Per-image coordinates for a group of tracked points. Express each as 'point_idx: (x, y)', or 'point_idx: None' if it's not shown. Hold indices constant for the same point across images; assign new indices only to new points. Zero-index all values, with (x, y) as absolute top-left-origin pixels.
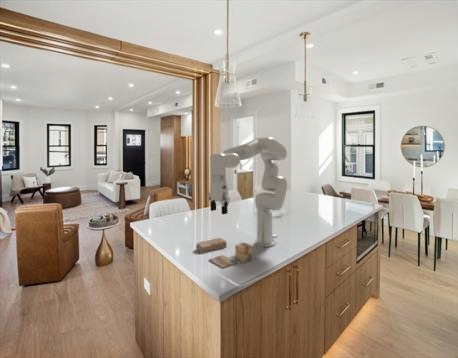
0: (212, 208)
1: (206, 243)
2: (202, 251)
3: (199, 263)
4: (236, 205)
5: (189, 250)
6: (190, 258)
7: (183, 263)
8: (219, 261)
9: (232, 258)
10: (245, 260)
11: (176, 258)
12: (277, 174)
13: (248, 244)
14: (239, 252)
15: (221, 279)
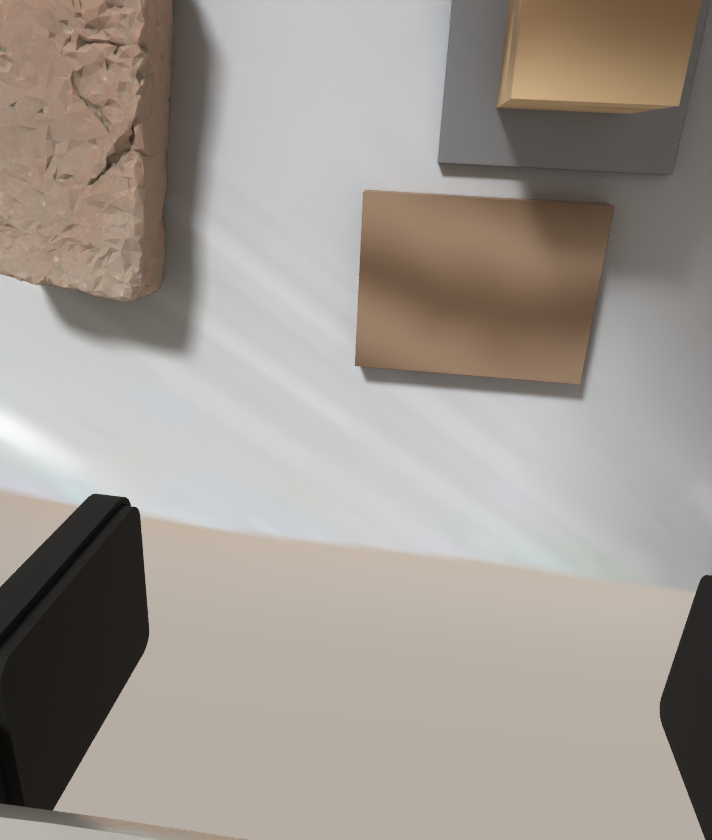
0: (120, 660)
1: (62, 198)
2: (152, 290)
3: (331, 435)
4: None
5: (20, 329)
6: (194, 428)
7: (246, 517)
8: (463, 324)
9: (488, 152)
10: None
11: None
12: None
13: None
14: (585, 107)
15: (684, 489)
